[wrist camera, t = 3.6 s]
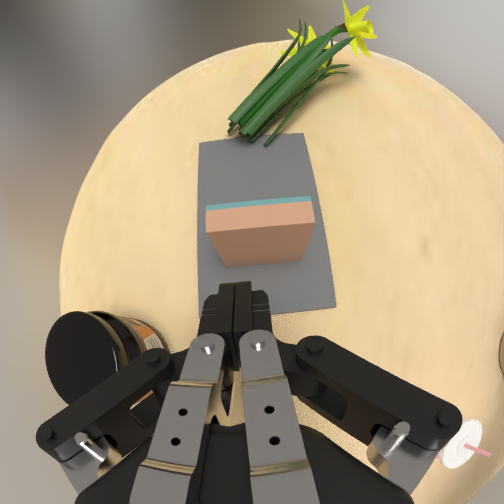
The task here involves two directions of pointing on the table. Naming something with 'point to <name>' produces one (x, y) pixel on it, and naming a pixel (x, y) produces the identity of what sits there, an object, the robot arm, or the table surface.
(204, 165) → the felt mat
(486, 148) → the table surface
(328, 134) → the table surface
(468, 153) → the table surface
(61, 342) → the supplement container
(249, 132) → the daffodil flowers
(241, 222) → the tile
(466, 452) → the beverage cup
